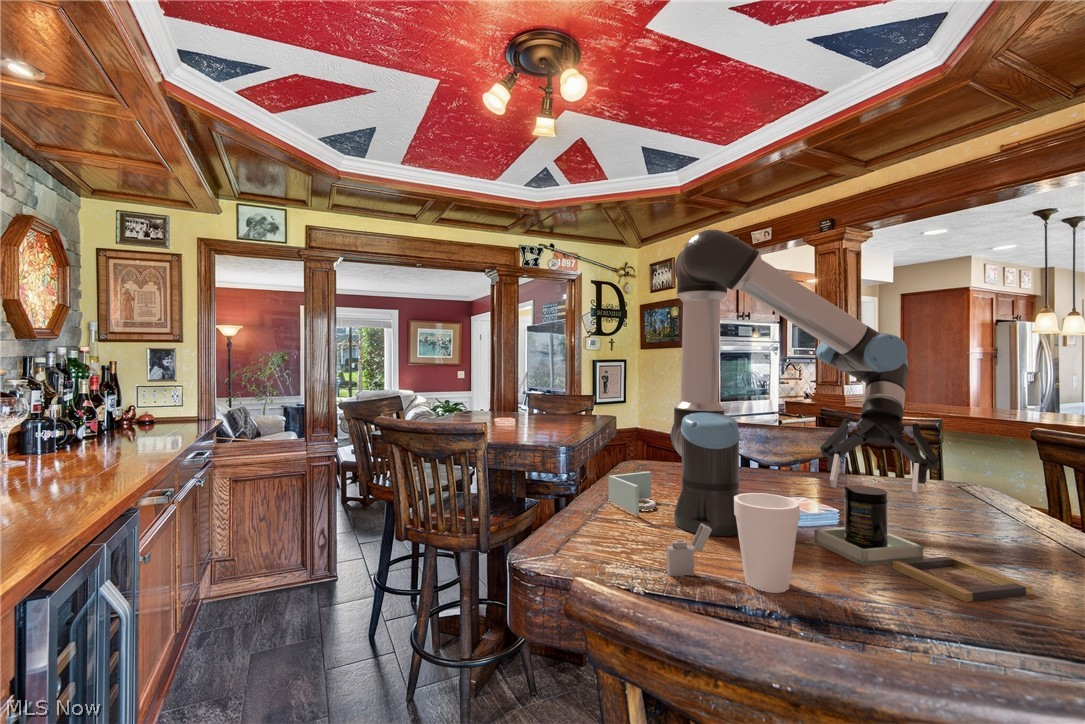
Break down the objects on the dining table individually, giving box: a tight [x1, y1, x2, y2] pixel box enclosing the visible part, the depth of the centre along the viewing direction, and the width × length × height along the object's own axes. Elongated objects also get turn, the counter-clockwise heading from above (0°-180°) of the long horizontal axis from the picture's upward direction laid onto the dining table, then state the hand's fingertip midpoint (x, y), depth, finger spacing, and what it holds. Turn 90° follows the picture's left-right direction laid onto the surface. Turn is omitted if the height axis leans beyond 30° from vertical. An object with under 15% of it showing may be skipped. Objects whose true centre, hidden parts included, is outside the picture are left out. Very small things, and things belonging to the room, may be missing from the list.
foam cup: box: [734, 492, 801, 594], centre depth 78 cm, size 10×9×13 cm
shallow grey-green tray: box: [813, 526, 924, 567], centre depth 91 cm, size 12×12×2 cm
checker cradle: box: [891, 555, 1034, 603], centre depth 78 cm, size 12×12×1 cm
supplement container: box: [843, 484, 889, 549], centre depth 91 cm, size 7×7×10 cm
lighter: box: [666, 523, 712, 577], centre depth 82 cm, size 7×2×8 cm, turn 92°
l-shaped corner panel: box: [607, 471, 657, 516], centre depth 120 cm, size 12×12×8 cm
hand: (871, 489), depth 98 cm, fingers open, 13 cm apart
